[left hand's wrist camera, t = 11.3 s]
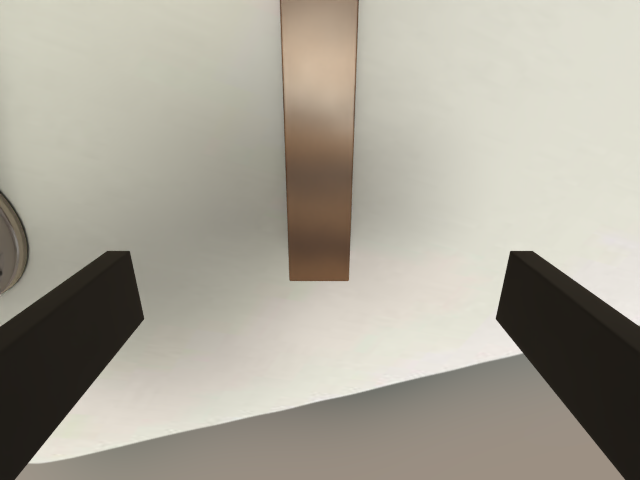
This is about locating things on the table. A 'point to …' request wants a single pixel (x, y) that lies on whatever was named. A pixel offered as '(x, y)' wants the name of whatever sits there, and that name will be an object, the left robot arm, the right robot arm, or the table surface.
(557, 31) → the table surface
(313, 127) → the beam
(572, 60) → the table surface
